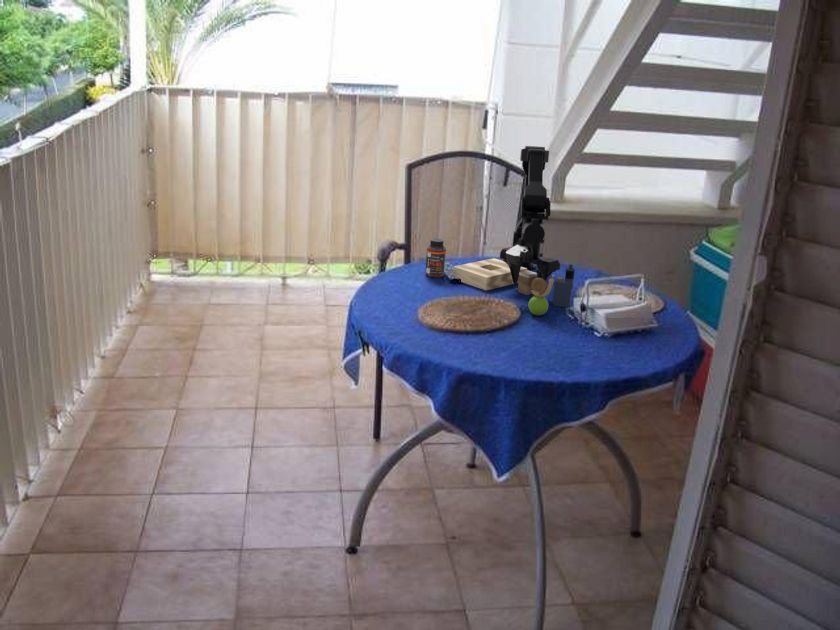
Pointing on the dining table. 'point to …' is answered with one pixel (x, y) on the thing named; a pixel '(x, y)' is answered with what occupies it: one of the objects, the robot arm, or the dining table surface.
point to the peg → (526, 282)
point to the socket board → (485, 274)
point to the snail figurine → (540, 296)
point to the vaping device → (563, 288)
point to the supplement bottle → (435, 258)
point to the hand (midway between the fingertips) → (526, 287)
